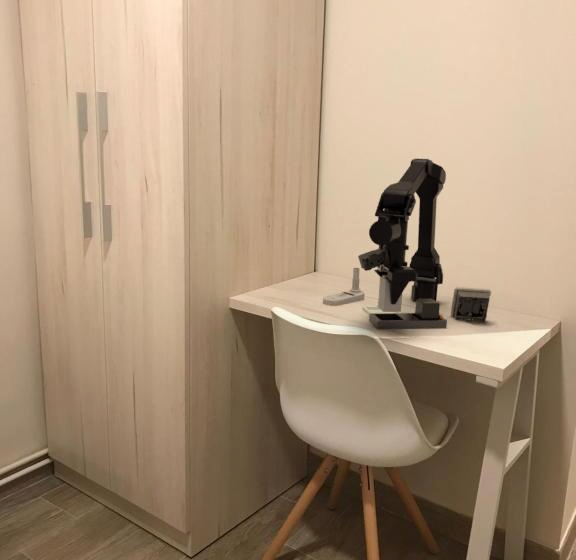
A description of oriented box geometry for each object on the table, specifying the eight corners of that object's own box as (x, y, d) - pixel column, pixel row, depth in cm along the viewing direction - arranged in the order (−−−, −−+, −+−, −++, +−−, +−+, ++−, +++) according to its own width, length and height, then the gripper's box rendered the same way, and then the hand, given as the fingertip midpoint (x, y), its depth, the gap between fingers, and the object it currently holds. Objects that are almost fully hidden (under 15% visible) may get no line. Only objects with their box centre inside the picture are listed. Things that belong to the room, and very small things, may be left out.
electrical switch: (485, 319, 167) (489, 286, 164) (489, 326, 162) (493, 293, 159) (449, 317, 168) (453, 284, 165) (452, 324, 163) (456, 291, 160)
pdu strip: (435, 322, 162) (437, 296, 161) (446, 330, 156) (448, 303, 154) (368, 322, 159) (370, 297, 158) (377, 331, 153) (378, 304, 151)
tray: (393, 310, 172) (393, 306, 172) (403, 318, 164) (403, 313, 164) (362, 310, 171) (362, 306, 170) (370, 318, 163) (370, 314, 163)
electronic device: (320, 272, 174) (355, 265, 183) (319, 306, 176) (354, 297, 186) (333, 276, 170) (369, 268, 180) (332, 310, 172) (367, 301, 182)
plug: (394, 306, 158) (397, 274, 156) (400, 311, 154) (403, 278, 152) (377, 307, 158) (380, 274, 156) (383, 311, 153) (385, 278, 151)
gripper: (352, 233, 160) (349, 292, 163) (374, 246, 142) (369, 312, 145) (394, 234, 161) (389, 292, 165) (420, 246, 143) (415, 311, 147)
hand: (390, 301), depth 155 cm, fingers closed on plug, 4 cm apart
